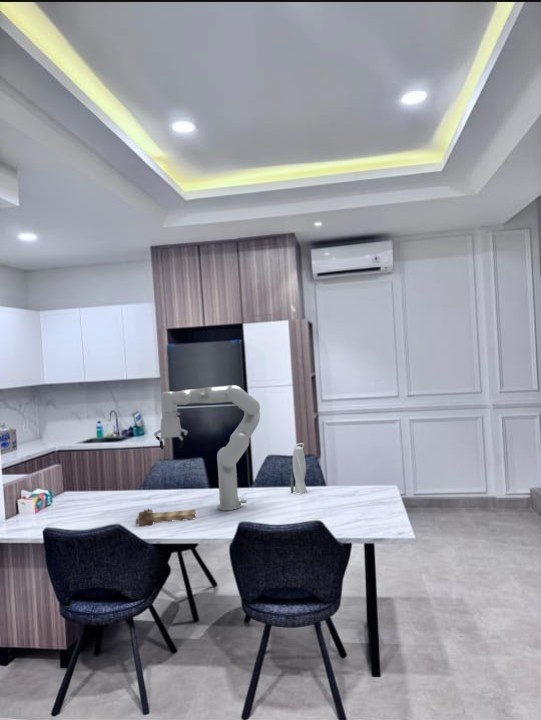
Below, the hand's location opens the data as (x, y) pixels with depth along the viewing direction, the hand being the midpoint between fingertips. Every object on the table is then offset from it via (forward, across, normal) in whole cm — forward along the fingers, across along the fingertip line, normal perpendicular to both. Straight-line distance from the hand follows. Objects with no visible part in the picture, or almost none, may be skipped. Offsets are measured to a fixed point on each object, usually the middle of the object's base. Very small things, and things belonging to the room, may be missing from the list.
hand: (171, 448), depth 250 cm
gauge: (+33, +12, +13) cm, 38 cm away
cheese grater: (+34, -69, -22) cm, 80 cm away
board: (+33, +3, +10) cm, 35 cm away
